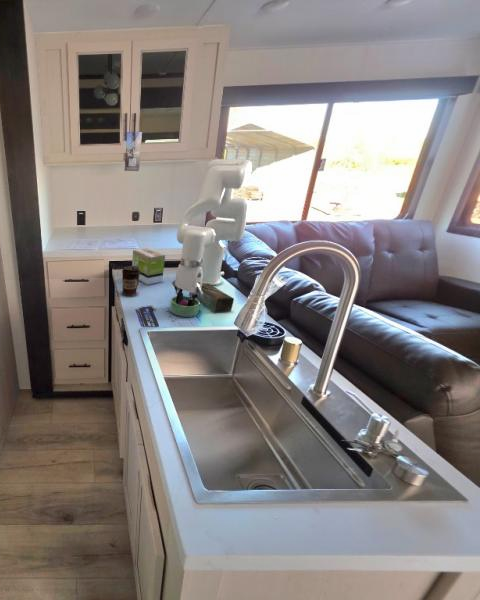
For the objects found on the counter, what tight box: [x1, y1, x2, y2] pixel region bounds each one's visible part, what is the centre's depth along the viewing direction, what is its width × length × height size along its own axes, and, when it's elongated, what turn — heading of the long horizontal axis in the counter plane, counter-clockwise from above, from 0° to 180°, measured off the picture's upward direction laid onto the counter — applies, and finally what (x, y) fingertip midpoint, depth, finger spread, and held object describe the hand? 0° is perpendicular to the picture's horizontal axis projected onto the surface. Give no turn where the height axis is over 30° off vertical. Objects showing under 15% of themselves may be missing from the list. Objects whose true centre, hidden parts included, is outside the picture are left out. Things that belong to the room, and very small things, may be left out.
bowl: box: [169, 295, 201, 318], centre depth 129 cm, size 11×11×5 cm
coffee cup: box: [121, 265, 140, 297], centre depth 146 cm, size 9×8×13 cm
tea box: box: [131, 247, 166, 286], centre depth 164 cm, size 15×10×15 cm, turn 25°
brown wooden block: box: [196, 283, 235, 313], centre depth 137 cm, size 8×19×7 cm, turn 11°
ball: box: [179, 300, 188, 306], centre depth 129 cm, size 4×4×4 cm
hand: (184, 304), depth 129 cm, fingers open, 5 cm apart
